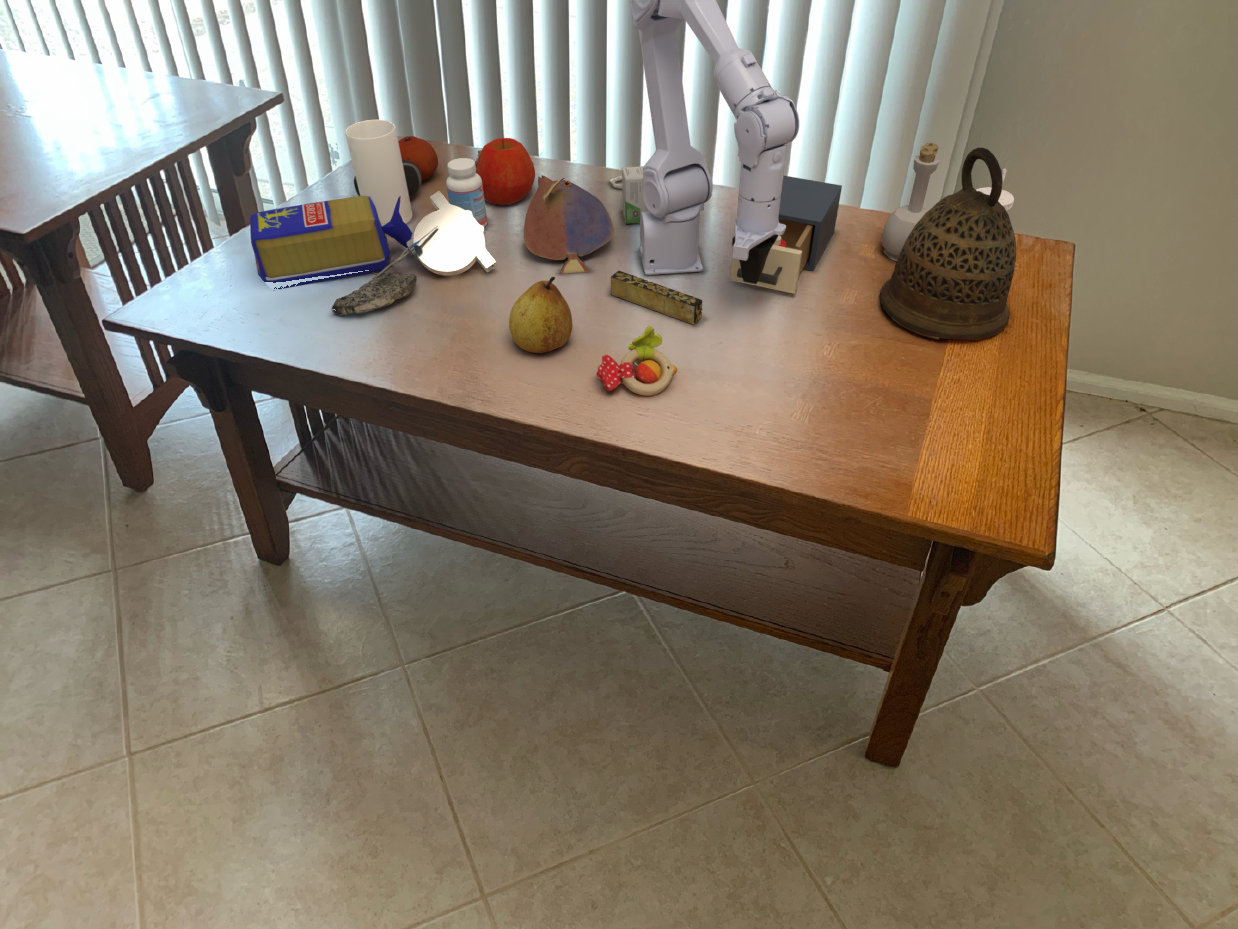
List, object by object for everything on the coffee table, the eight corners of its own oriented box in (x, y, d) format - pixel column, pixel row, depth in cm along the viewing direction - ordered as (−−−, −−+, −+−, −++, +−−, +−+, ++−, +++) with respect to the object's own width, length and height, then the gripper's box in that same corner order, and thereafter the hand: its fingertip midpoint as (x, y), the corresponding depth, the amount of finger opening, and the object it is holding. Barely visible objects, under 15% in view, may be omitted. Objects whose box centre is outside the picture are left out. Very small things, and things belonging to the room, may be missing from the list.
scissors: (382, 275, 130) (378, 271, 129) (362, 293, 136) (358, 289, 136) (440, 228, 137) (436, 223, 137) (419, 247, 144) (415, 243, 143)
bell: (973, 388, 129) (1024, 285, 134) (1030, 294, 105) (1088, 173, 110) (856, 339, 134) (909, 242, 139) (885, 239, 110) (947, 126, 115)
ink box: (622, 212, 154) (686, 207, 155) (625, 225, 151) (691, 220, 151) (621, 166, 148) (688, 161, 149) (624, 178, 145) (693, 174, 146)
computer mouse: (348, 167, 155) (348, 175, 152) (415, 153, 156) (417, 160, 153) (361, 205, 159) (361, 212, 156) (426, 190, 161) (427, 198, 157)
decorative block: (702, 318, 129) (703, 298, 127) (693, 326, 128) (695, 305, 125) (619, 288, 136) (618, 268, 133) (610, 295, 134) (609, 275, 132)
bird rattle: (694, 349, 116) (642, 312, 118) (645, 393, 110) (591, 354, 112) (683, 379, 121) (633, 343, 123) (636, 423, 115) (584, 384, 117)
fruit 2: (502, 338, 126) (492, 267, 118) (557, 319, 129) (551, 249, 121) (527, 370, 121) (519, 298, 112) (584, 349, 124) (580, 278, 115)
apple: (534, 210, 155) (529, 152, 148) (474, 210, 155) (466, 153, 148) (539, 183, 163) (534, 127, 155) (482, 183, 163) (474, 128, 156)
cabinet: (813, 270, 138) (821, 221, 133) (744, 256, 142) (749, 208, 136) (834, 232, 147) (842, 185, 141) (768, 220, 151) (774, 173, 145)
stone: (325, 302, 131) (332, 318, 133) (360, 314, 126) (367, 331, 128) (392, 256, 138) (398, 272, 140) (427, 266, 133) (433, 282, 135)
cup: (422, 213, 155) (405, 125, 144) (390, 233, 150) (370, 142, 139) (388, 203, 158) (369, 115, 147) (356, 221, 153) (334, 132, 142)
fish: (514, 152, 139) (606, 144, 140) (520, 200, 151) (605, 193, 152) (525, 255, 133) (621, 247, 134) (530, 297, 145) (618, 289, 146)
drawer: (786, 308, 129) (792, 268, 124) (721, 293, 132) (724, 254, 128) (815, 255, 140) (821, 217, 136) (754, 243, 143) (758, 205, 139)
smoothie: (999, 262, 139) (1026, 180, 130) (958, 258, 140) (981, 176, 131) (995, 242, 144) (1020, 162, 134) (955, 239, 145) (977, 159, 135)
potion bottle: (941, 251, 142) (970, 144, 130) (914, 272, 138) (941, 163, 125) (894, 234, 147) (917, 129, 134) (866, 253, 142) (888, 147, 130)
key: (605, 182, 161) (613, 173, 164) (605, 187, 161) (614, 178, 164) (666, 192, 157) (673, 182, 160) (666, 197, 158) (673, 187, 161)
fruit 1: (387, 188, 163) (378, 146, 157) (403, 167, 169) (395, 127, 164) (431, 190, 162) (424, 149, 156) (446, 170, 168) (439, 129, 162)
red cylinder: (763, 272, 135) (766, 243, 131) (758, 260, 137) (761, 232, 134) (785, 270, 135) (789, 242, 131) (780, 259, 137) (784, 230, 134)
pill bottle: (486, 232, 149) (477, 170, 142) (451, 233, 149) (440, 171, 142) (489, 216, 154) (481, 155, 146) (455, 217, 154) (445, 156, 146)
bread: (262, 265, 143) (242, 207, 135) (411, 239, 148) (399, 182, 141) (263, 297, 136) (242, 238, 128) (420, 269, 141) (408, 211, 134)
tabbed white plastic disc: (508, 253, 138) (453, 280, 133) (496, 280, 145) (443, 307, 139) (452, 182, 139) (395, 206, 134) (442, 212, 146) (388, 237, 140)
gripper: (772, 221, 110) (762, 311, 120) (803, 175, 120) (791, 262, 129) (720, 211, 112) (714, 301, 122) (754, 167, 122) (746, 253, 131)
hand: (751, 280), depth 126 cm, fingers closed
